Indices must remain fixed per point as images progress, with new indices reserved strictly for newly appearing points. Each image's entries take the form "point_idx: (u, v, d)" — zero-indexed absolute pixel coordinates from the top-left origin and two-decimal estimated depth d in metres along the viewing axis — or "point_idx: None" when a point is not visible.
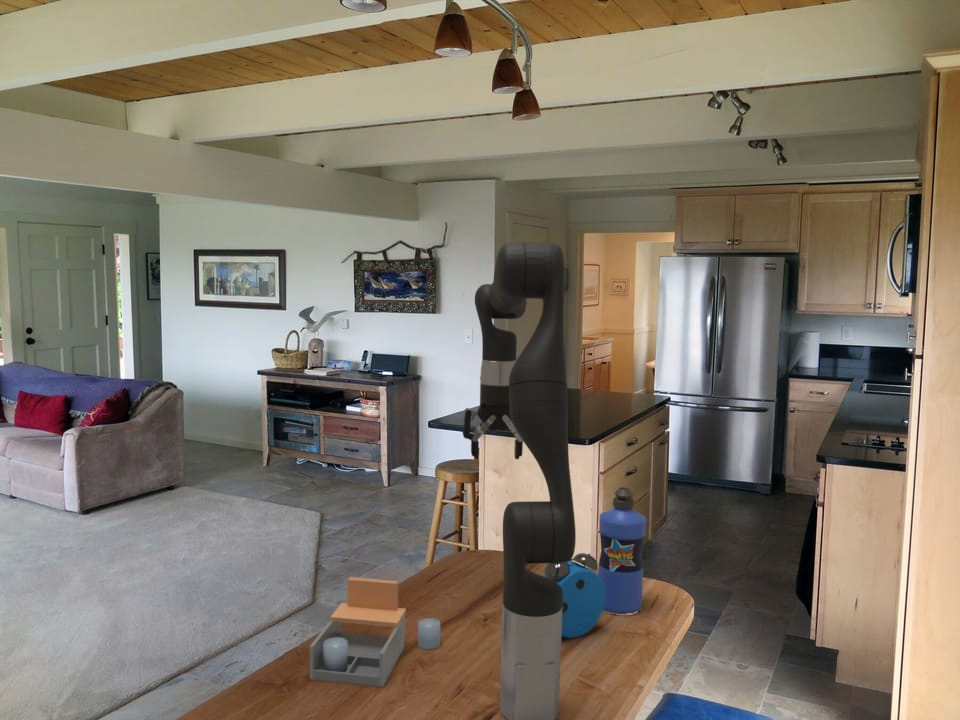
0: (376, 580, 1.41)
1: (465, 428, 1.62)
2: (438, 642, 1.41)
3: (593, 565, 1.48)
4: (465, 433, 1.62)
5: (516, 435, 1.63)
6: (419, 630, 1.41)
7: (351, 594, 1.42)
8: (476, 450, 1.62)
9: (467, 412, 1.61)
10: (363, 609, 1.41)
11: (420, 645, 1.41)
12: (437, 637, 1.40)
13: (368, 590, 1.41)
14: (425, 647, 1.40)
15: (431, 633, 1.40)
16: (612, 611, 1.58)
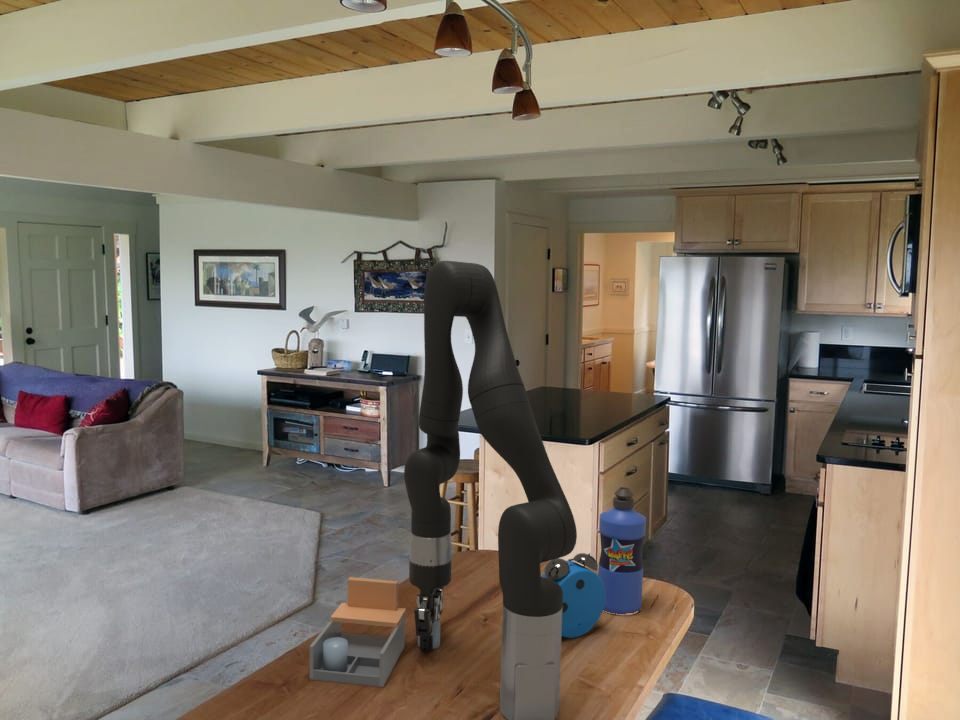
0: (376, 580, 1.41)
1: (429, 628, 1.36)
2: (438, 642, 1.41)
3: (593, 565, 1.48)
4: (429, 632, 1.37)
5: (438, 615, 1.44)
6: None
7: (351, 594, 1.42)
8: (432, 644, 1.39)
9: (428, 613, 1.35)
10: (363, 609, 1.41)
11: None
12: (437, 637, 1.40)
13: (368, 590, 1.41)
14: None
15: None
16: (612, 611, 1.58)
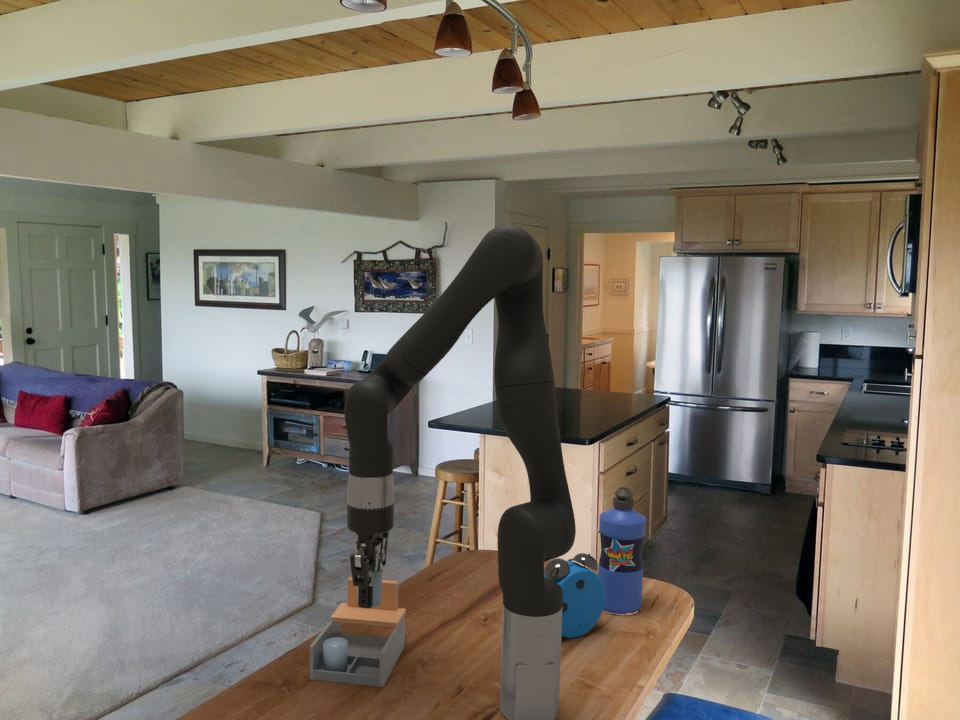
0: None
1: (367, 577, 1.23)
2: (379, 594, 1.28)
3: (593, 565, 1.48)
4: (368, 581, 1.24)
5: (381, 565, 1.31)
6: None
7: (351, 594, 1.42)
8: (372, 596, 1.27)
9: (365, 560, 1.22)
10: (363, 609, 1.41)
11: None
12: (377, 588, 1.28)
13: None
14: None
15: None
16: (612, 611, 1.58)
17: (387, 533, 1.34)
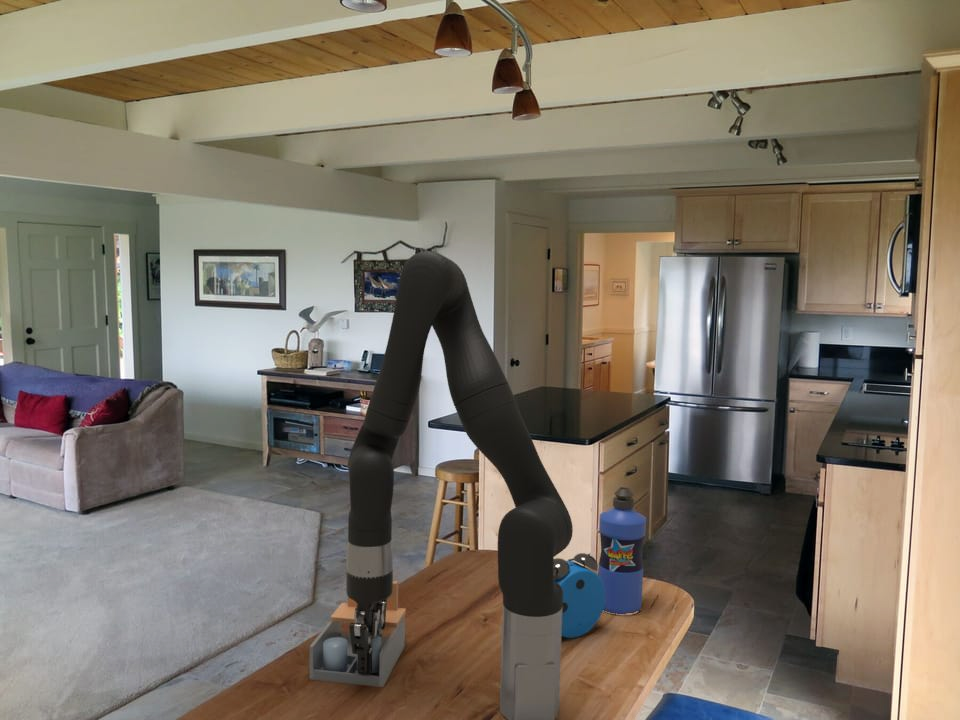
0: None
1: (366, 645, 1.24)
2: (378, 660, 1.29)
3: (593, 565, 1.48)
4: (367, 650, 1.25)
5: (380, 630, 1.32)
6: None
7: None
8: (371, 663, 1.28)
9: (364, 629, 1.23)
10: None
11: None
12: (376, 654, 1.29)
13: None
14: None
15: None
16: (612, 611, 1.58)
17: None
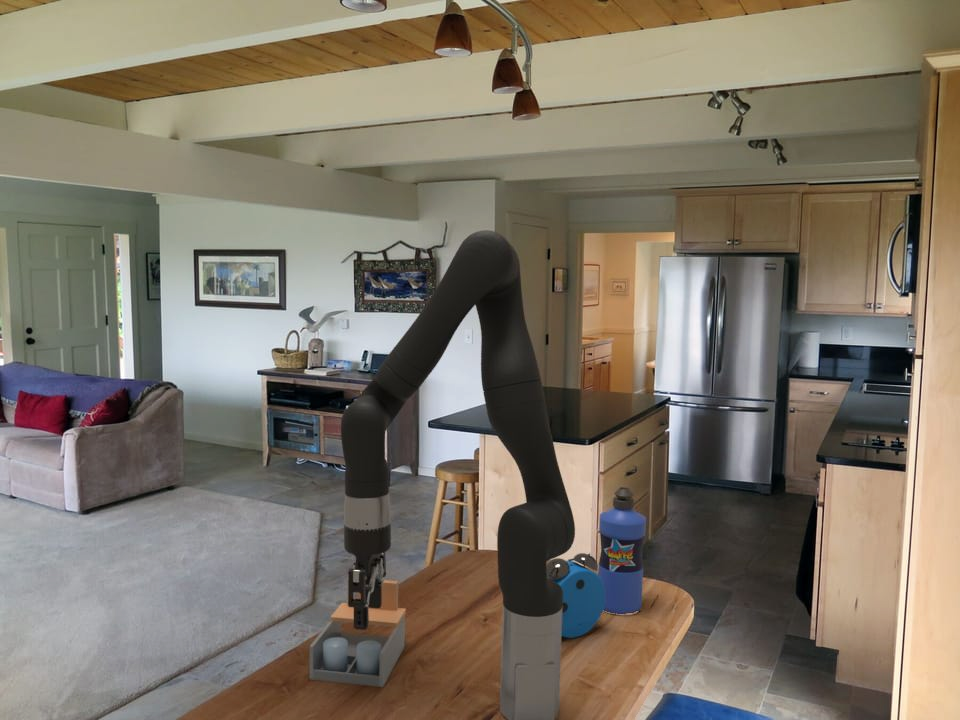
0: None
1: (364, 594, 1.21)
2: (378, 667, 1.30)
3: (593, 565, 1.48)
4: (364, 601, 1.21)
5: (381, 578, 1.32)
6: (357, 654, 1.29)
7: None
8: (367, 617, 1.24)
9: (364, 573, 1.21)
10: None
11: (358, 670, 1.29)
12: (376, 661, 1.29)
13: None
14: (364, 672, 1.29)
15: (370, 658, 1.28)
16: (612, 611, 1.58)
17: None
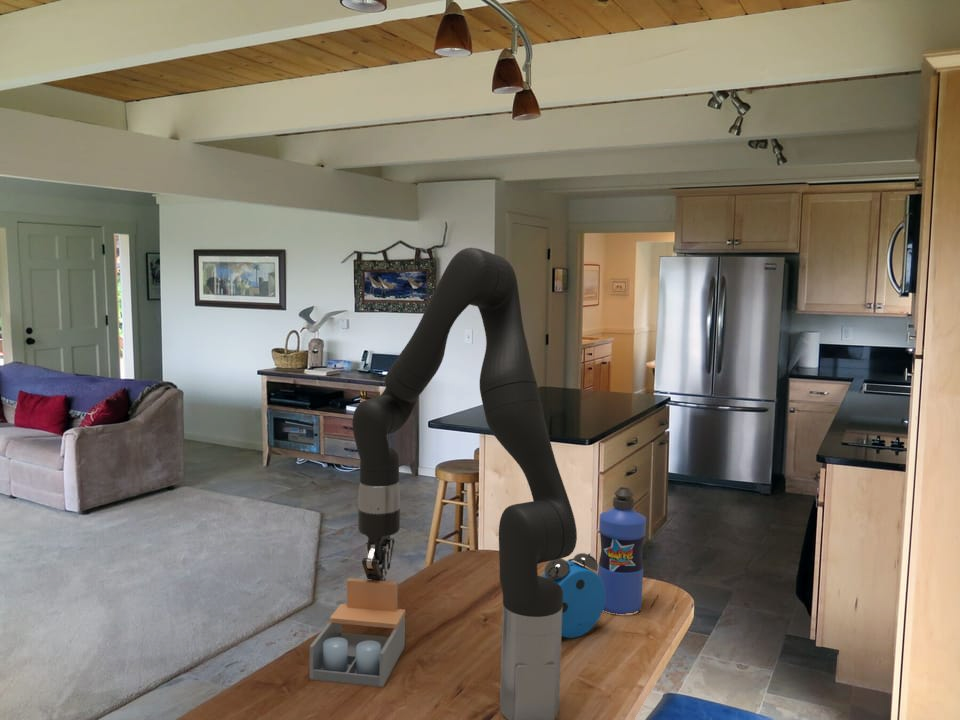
0: (375, 581, 1.41)
1: (379, 574, 1.40)
2: (378, 667, 1.30)
3: (593, 565, 1.48)
4: (380, 576, 1.41)
5: (386, 567, 1.45)
6: (357, 654, 1.29)
7: (350, 595, 1.41)
8: None
9: (376, 564, 1.38)
10: (362, 610, 1.40)
11: (358, 670, 1.29)
12: (376, 661, 1.29)
13: (367, 591, 1.41)
14: (364, 672, 1.29)
15: (369, 658, 1.28)
16: (612, 611, 1.58)
17: (393, 540, 1.49)
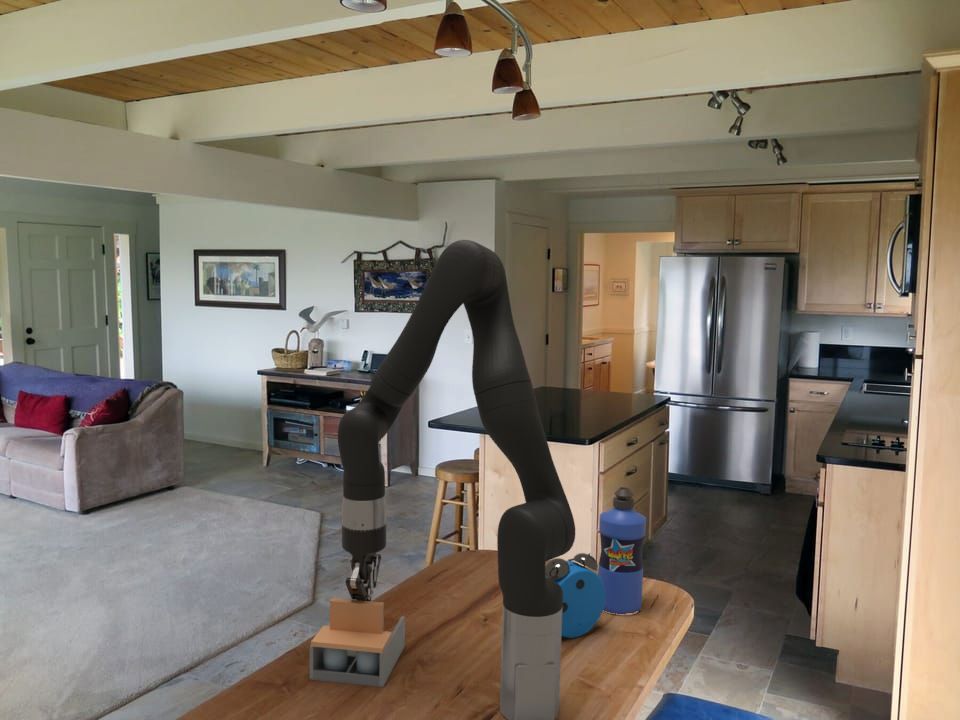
0: (360, 601, 1.32)
1: (364, 594, 1.32)
2: (378, 667, 1.30)
3: (593, 565, 1.48)
4: (365, 596, 1.32)
5: (372, 586, 1.36)
6: (357, 654, 1.29)
7: (333, 616, 1.32)
8: None
9: (360, 583, 1.29)
10: (346, 632, 1.32)
11: (358, 670, 1.29)
12: (377, 661, 1.29)
13: (352, 612, 1.32)
14: (364, 672, 1.29)
15: (370, 658, 1.28)
16: (612, 611, 1.58)
17: (379, 557, 1.40)
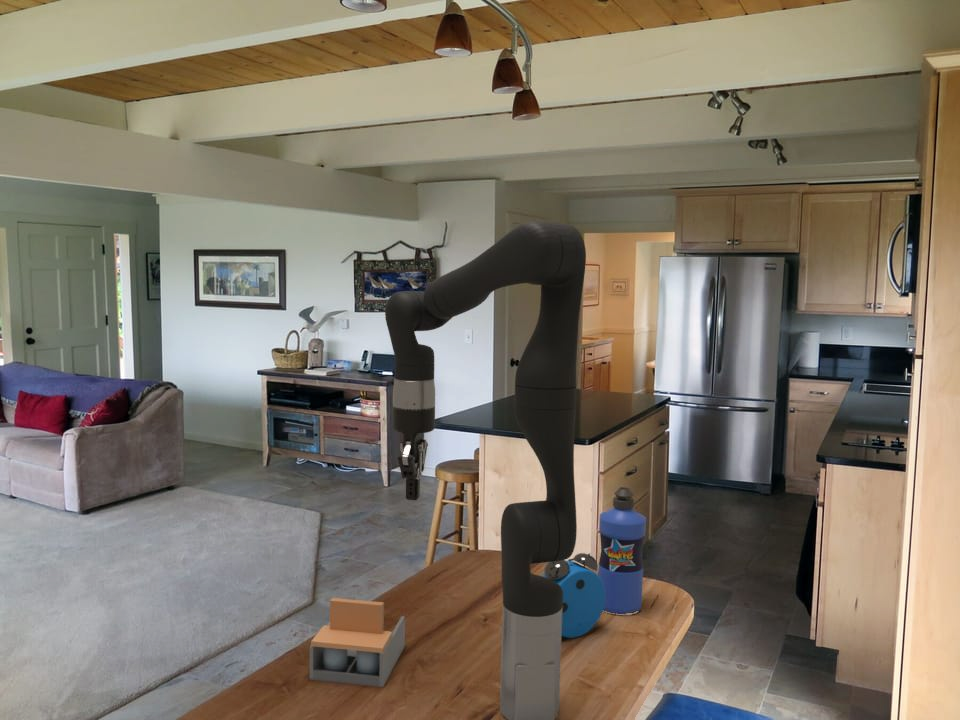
0: (360, 601, 1.32)
1: (414, 471, 1.37)
2: (378, 667, 1.30)
3: (593, 565, 1.48)
4: (415, 475, 1.38)
5: (420, 468, 1.42)
6: (358, 654, 1.29)
7: (334, 616, 1.33)
8: (418, 489, 1.41)
9: (412, 459, 1.35)
10: (346, 632, 1.32)
11: (359, 670, 1.29)
12: (377, 661, 1.29)
13: (352, 612, 1.32)
14: (364, 672, 1.29)
15: (370, 658, 1.28)
16: (612, 611, 1.58)
17: (426, 443, 1.46)
